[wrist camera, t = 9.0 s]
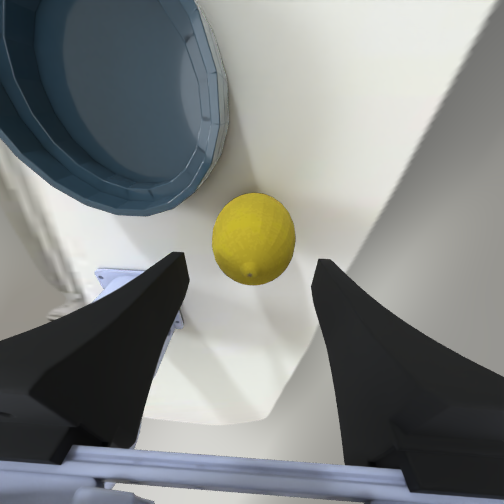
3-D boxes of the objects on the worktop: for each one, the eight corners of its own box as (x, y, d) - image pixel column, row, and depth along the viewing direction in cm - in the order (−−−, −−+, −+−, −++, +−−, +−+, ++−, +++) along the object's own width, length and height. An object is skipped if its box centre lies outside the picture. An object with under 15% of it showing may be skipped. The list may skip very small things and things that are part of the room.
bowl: (232, 201, 17) (225, 220, 14) (79, 194, 17) (40, 212, 14) (223, -76, 9) (203, -166, 6) (-50, -76, 9) (-192, -161, 7)
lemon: (259, 163, 15) (255, 204, 8) (301, 216, 17) (325, 281, 10) (210, 209, 17) (175, 269, 10) (253, 250, 19) (247, 321, 13)
